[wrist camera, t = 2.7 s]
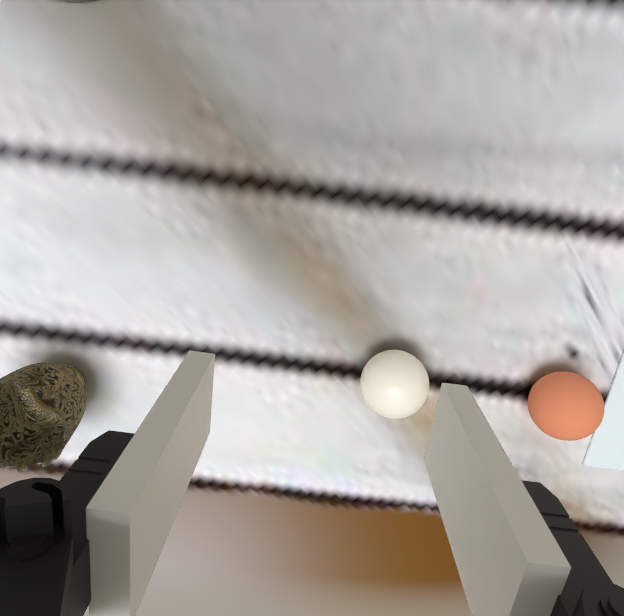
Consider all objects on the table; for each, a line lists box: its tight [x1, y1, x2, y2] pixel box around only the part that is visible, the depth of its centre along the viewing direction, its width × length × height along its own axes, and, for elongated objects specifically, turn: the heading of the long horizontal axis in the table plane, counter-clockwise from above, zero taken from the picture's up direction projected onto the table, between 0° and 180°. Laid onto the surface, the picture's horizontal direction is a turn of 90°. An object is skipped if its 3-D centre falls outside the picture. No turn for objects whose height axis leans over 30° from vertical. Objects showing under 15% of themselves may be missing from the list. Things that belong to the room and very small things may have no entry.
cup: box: [0, 363, 86, 472], centre depth 39 cm, size 8×7×8 cm
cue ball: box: [360, 350, 429, 419], centre depth 39 cm, size 6×6×6 cm
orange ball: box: [528, 371, 604, 441], centre depth 39 cm, size 6×6×6 cm
